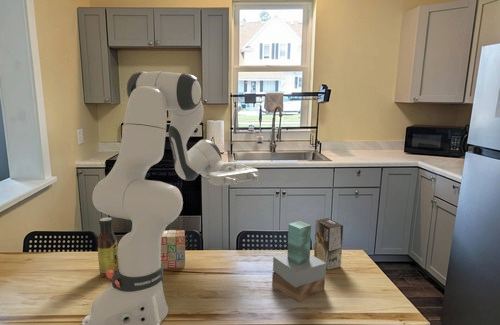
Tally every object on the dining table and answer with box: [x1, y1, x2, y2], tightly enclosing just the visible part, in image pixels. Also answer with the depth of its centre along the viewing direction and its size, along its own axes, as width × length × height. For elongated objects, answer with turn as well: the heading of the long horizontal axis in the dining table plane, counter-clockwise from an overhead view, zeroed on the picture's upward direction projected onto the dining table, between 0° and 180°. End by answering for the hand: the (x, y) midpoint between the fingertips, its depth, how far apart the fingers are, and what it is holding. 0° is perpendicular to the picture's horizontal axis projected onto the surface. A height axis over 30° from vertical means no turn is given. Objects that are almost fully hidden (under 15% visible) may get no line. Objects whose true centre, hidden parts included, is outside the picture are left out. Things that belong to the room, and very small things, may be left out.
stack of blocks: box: [161, 229, 186, 270], centre depth 123 cm, size 21×6×12 cm, turn 99°
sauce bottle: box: [96, 216, 119, 278], centre depth 116 cm, size 7×6×20 cm
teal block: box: [287, 220, 312, 265], centre depth 107 cm, size 5×5×12 cm
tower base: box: [271, 271, 326, 303], centre depth 110 cm, size 12×12×5 cm
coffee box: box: [313, 217, 344, 270], centre depth 126 cm, size 9×6×16 cm
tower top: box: [272, 252, 327, 288], centre depth 109 cm, size 12×12×5 cm
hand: (246, 180), depth 121 cm, fingers open, 8 cm apart
